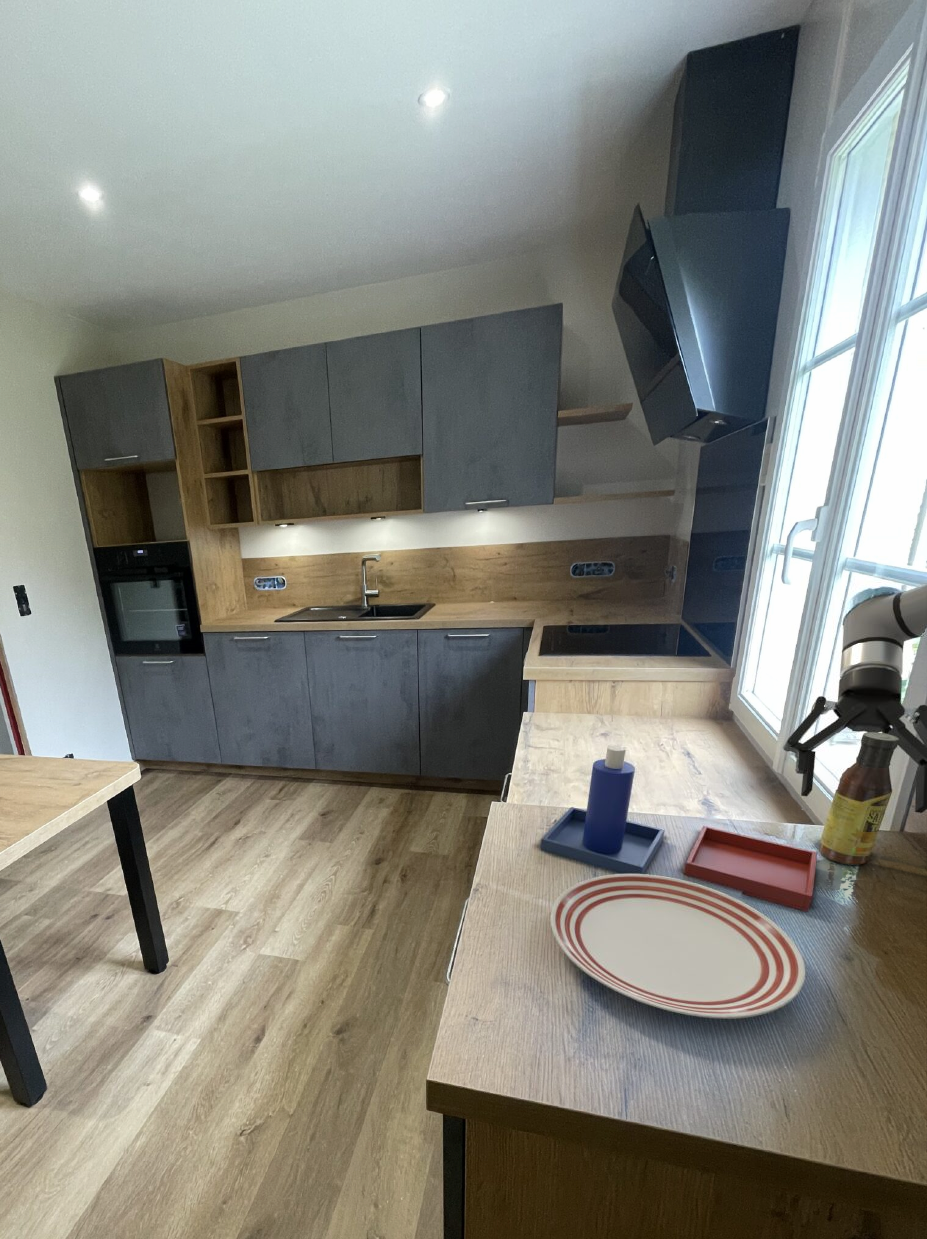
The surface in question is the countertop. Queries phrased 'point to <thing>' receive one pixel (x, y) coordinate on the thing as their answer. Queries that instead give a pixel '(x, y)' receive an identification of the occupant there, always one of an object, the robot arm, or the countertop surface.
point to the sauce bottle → (860, 802)
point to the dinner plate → (677, 946)
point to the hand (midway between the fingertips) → (862, 801)
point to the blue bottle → (608, 802)
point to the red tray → (754, 867)
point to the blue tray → (629, 860)
